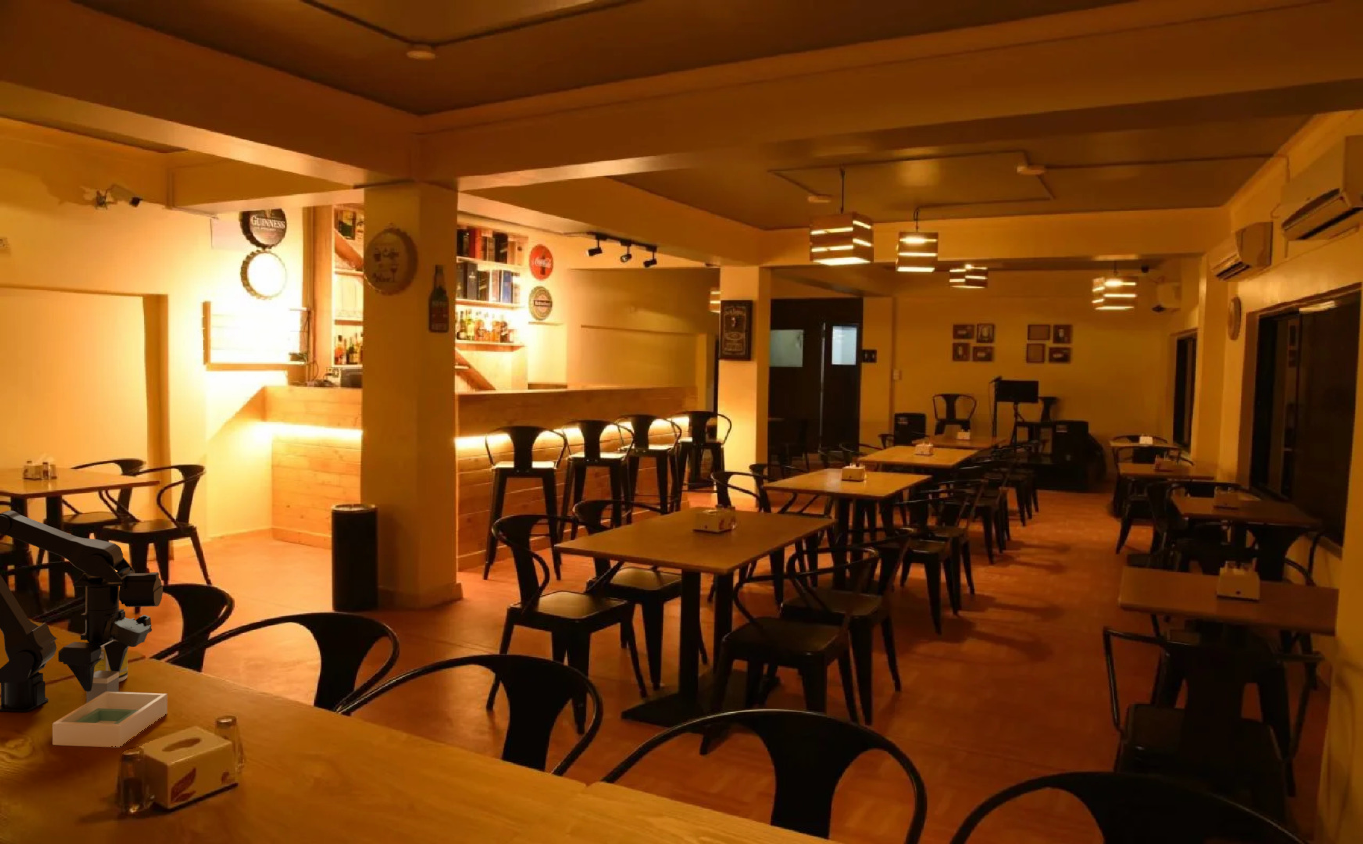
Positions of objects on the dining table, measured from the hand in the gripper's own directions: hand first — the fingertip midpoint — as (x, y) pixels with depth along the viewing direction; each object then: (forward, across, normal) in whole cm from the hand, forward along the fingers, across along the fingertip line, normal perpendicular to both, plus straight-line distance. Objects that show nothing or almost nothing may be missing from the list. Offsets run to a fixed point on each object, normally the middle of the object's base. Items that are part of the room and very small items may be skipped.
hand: (102, 683), depth 188 cm
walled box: (+4, -12, -9) cm, 16 cm away
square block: (+4, 0, 0) cm, 4 cm away
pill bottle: (+4, +13, +6) cm, 15 cm away
